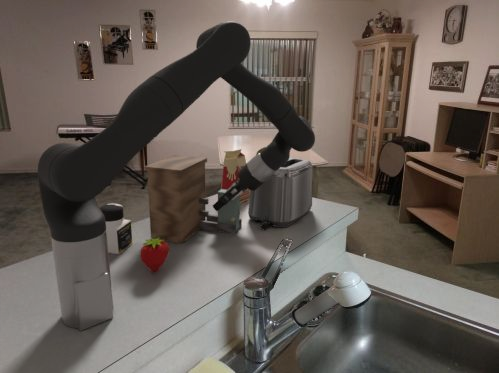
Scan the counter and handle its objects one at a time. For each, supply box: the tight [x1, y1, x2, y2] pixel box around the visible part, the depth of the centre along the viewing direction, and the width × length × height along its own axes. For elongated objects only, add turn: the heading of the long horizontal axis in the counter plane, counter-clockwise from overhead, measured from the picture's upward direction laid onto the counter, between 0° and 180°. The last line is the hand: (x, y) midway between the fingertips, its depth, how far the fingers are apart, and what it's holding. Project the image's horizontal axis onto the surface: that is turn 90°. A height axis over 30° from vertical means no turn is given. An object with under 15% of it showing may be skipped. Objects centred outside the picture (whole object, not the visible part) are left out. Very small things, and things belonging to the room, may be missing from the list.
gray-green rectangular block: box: [217, 188, 241, 232], centre depth 114 cm, size 6×4×12 cm, turn 73°
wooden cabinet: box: [144, 154, 243, 244], centre depth 110 cm, size 22×18×21 cm
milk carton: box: [220, 148, 250, 204], centre depth 140 cm, size 9×9×20 cm
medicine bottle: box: [99, 203, 133, 255], centre depth 100 cm, size 7×7×12 cm
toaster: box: [247, 156, 314, 231], centre depth 125 cm, size 17×30×19 cm, turn 147°
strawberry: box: [139, 237, 170, 273], centre depth 88 cm, size 6×8×10 cm
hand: (220, 204), depth 114 cm, fingers open, 8 cm apart
